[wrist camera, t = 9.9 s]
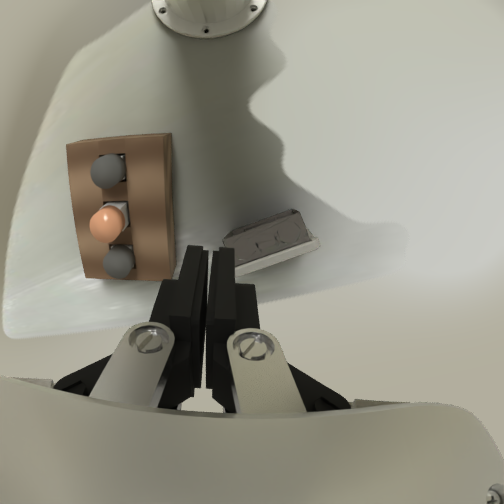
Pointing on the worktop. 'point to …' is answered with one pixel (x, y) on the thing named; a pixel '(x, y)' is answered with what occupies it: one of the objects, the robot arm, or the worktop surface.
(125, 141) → the wooden socket board
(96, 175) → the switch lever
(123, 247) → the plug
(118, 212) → the plug middle
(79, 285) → the worktop surface
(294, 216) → the electrical switch
